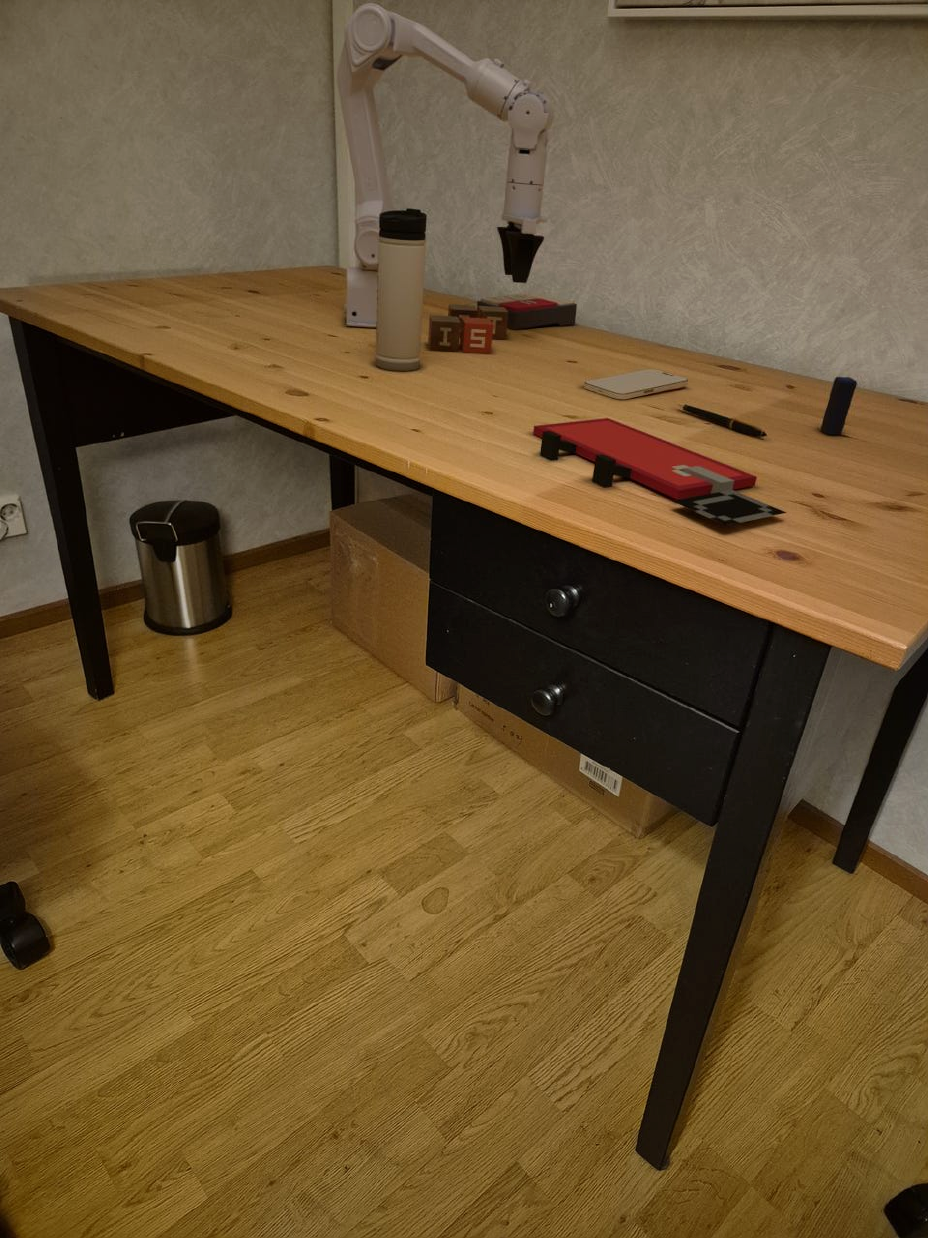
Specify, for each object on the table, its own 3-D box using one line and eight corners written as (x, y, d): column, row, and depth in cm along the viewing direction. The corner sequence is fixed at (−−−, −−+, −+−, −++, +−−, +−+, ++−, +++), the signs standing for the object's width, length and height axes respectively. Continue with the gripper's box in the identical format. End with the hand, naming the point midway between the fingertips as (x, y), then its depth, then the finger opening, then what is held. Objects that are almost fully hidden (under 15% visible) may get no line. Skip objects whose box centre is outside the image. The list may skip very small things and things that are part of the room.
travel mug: (428, 365, 123) (436, 211, 113) (406, 373, 118) (413, 213, 108) (390, 358, 125) (394, 206, 115) (367, 366, 120) (370, 207, 110)
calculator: (476, 296, 156) (538, 289, 164) (475, 321, 158) (536, 312, 166) (515, 307, 149) (578, 299, 157) (514, 333, 151) (576, 324, 159)
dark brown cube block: (449, 336, 141) (451, 308, 139) (447, 331, 145) (448, 303, 143) (476, 338, 142) (478, 310, 140) (472, 332, 146) (474, 305, 144)
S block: (462, 352, 132) (464, 322, 130) (459, 345, 136) (461, 316, 134) (490, 353, 133) (493, 324, 130) (487, 347, 136) (489, 318, 134)
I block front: (430, 350, 131) (431, 320, 129) (428, 344, 135) (429, 315, 133) (458, 352, 132) (460, 322, 130) (455, 345, 136) (457, 316, 134)
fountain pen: (670, 409, 112) (673, 397, 111) (676, 408, 113) (679, 396, 112) (763, 441, 102) (766, 429, 102) (769, 440, 103) (772, 427, 102)
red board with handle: (709, 538, 75) (815, 515, 83) (716, 508, 73) (823, 487, 81) (506, 441, 96) (605, 429, 104) (508, 416, 95) (609, 406, 103)
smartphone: (581, 381, 118) (651, 367, 127) (580, 389, 119) (649, 375, 127) (621, 394, 113) (691, 379, 122) (620, 403, 114) (690, 387, 123)
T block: (479, 338, 142) (481, 310, 140) (476, 332, 146) (478, 305, 144) (505, 339, 143) (508, 312, 140) (501, 334, 146) (504, 307, 144)
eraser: (818, 430, 108) (833, 375, 105) (835, 431, 109) (851, 376, 105) (825, 435, 107) (841, 380, 103) (842, 436, 107) (859, 381, 103)
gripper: (560, 188, 125) (549, 287, 132) (541, 182, 137) (531, 273, 144) (512, 184, 124) (503, 284, 131) (497, 178, 136) (489, 270, 143)
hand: (515, 278), depth 137 cm, fingers open, 7 cm apart
